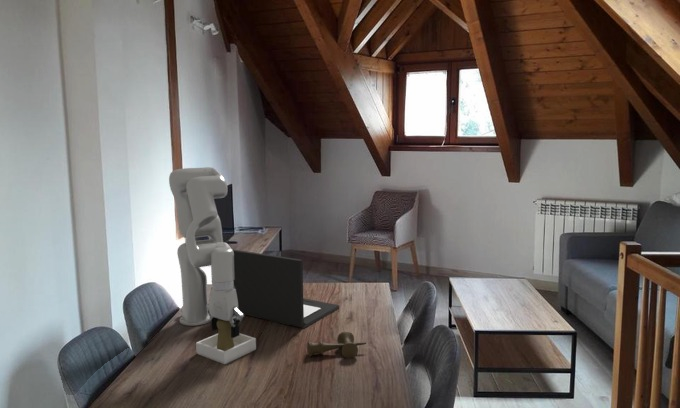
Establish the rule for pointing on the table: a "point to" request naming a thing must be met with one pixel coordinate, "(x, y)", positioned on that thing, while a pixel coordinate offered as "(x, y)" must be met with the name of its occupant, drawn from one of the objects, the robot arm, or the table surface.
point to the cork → (224, 335)
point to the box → (241, 348)
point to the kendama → (336, 346)
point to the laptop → (275, 290)
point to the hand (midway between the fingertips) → (225, 333)
